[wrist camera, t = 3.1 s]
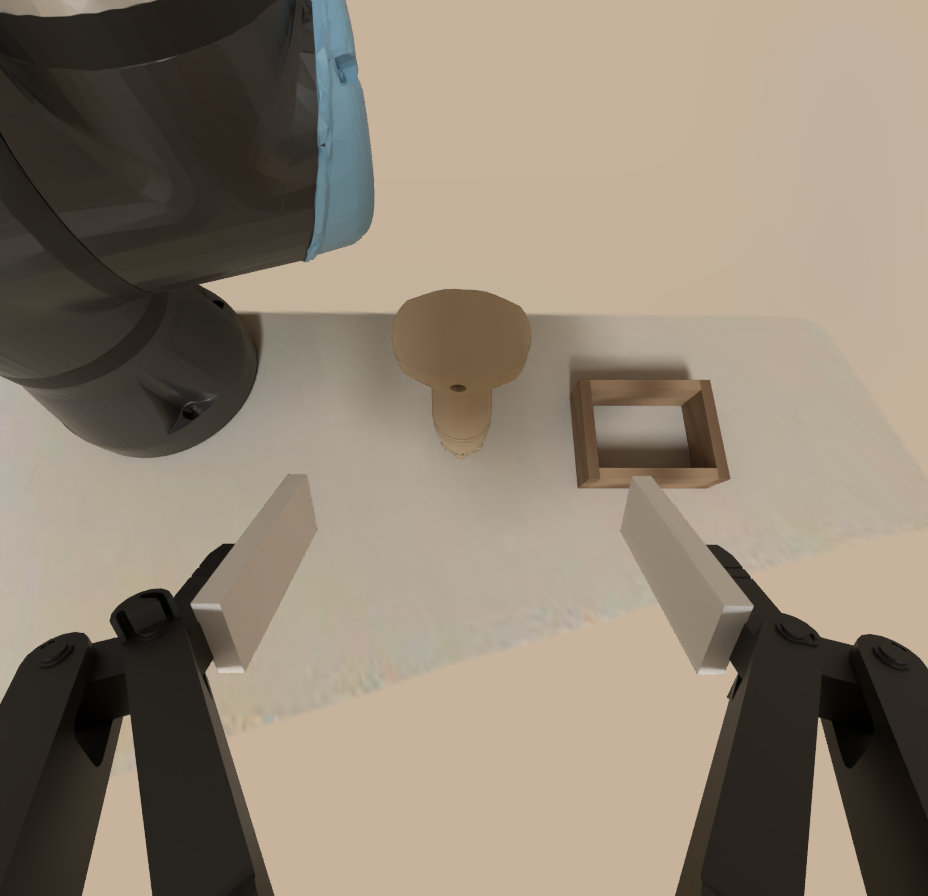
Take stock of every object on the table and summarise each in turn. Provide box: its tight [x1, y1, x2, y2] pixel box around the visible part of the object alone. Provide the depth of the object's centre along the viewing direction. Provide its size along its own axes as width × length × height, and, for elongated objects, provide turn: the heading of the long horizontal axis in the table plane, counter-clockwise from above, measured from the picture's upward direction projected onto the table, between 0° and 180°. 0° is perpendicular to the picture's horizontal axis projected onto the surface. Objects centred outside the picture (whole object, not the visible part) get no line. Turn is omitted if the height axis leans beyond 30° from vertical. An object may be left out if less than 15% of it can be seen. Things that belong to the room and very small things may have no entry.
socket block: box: [570, 380, 730, 488], centre depth 32 cm, size 10×8×3 cm
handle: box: [392, 289, 531, 458], centre depth 26 cm, size 5×6×15 cm
